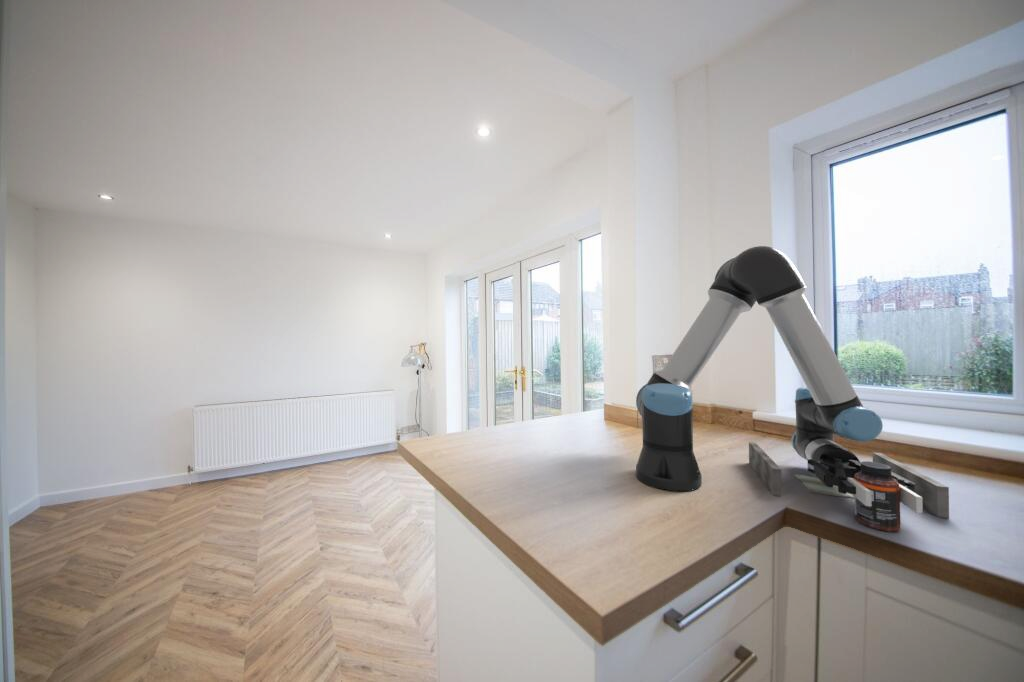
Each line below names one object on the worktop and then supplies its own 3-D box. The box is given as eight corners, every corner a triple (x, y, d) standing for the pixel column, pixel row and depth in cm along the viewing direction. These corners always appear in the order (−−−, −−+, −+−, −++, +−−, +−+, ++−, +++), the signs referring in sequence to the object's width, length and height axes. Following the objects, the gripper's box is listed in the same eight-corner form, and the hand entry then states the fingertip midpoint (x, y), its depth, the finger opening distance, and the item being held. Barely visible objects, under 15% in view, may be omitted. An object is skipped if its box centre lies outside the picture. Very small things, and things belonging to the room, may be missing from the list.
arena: (749, 463, 98) (748, 441, 98) (881, 477, 88) (881, 453, 88) (772, 494, 78) (772, 468, 78) (949, 518, 67) (948, 487, 67)
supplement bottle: (879, 517, 68) (878, 459, 68) (911, 534, 62) (910, 470, 62) (845, 516, 69) (845, 458, 69) (874, 532, 63) (873, 469, 63)
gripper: (885, 481, 78) (971, 534, 57) (783, 470, 86) (825, 513, 64) (885, 448, 78) (970, 488, 57) (782, 439, 86) (824, 472, 64)
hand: (893, 501), depth 61 cm, fingers closed on supplement bottle, 6 cm apart
